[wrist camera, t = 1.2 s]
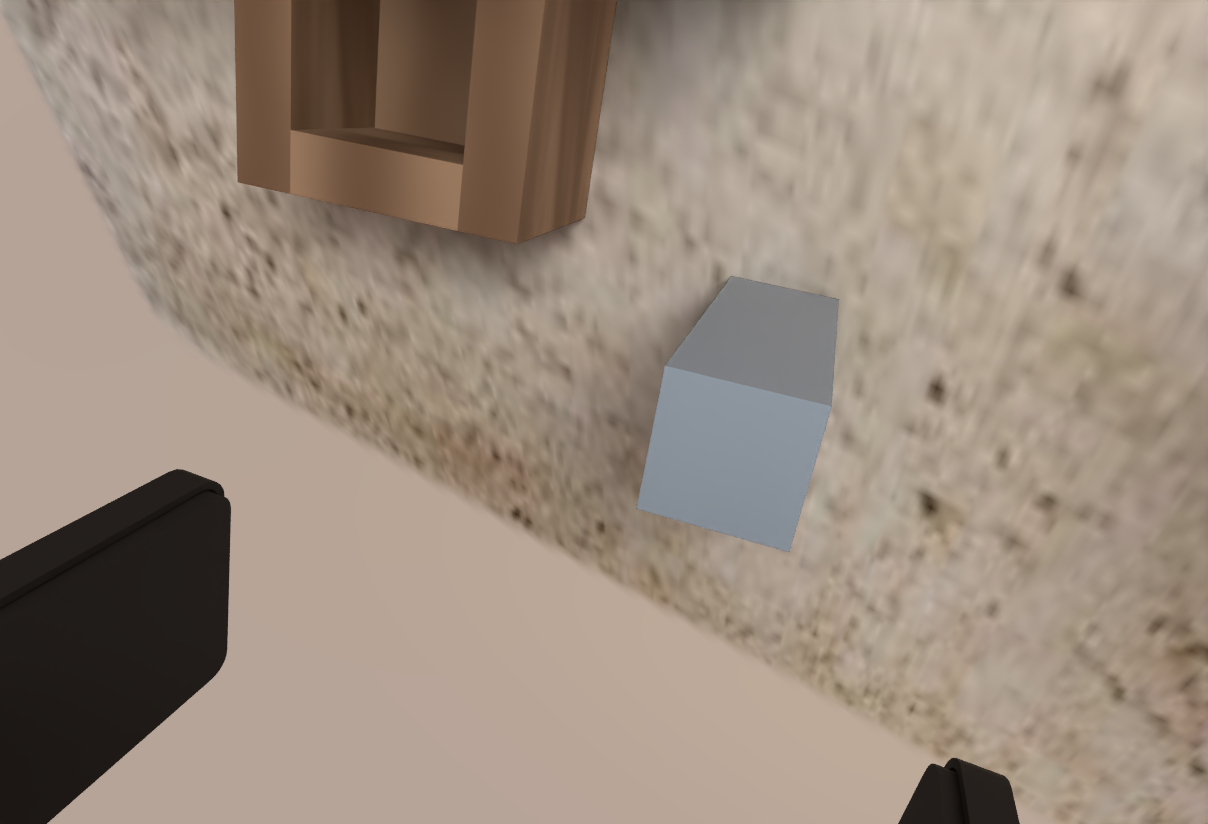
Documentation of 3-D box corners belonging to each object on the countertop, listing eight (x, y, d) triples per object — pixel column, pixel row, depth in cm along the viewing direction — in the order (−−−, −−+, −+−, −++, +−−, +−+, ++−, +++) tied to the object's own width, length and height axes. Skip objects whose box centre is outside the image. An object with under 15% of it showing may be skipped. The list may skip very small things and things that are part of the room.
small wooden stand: (853, -125, 25) (856, -369, 12) (764, 255, 30) (699, 360, 17) (199, -199, 30) (-279, -428, 17) (210, 138, 34) (-162, 152, 22)
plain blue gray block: (838, 299, 29) (831, 406, 19) (810, 399, 31) (789, 552, 20) (731, 276, 30) (664, 365, 19) (709, 374, 32) (636, 508, 21)
